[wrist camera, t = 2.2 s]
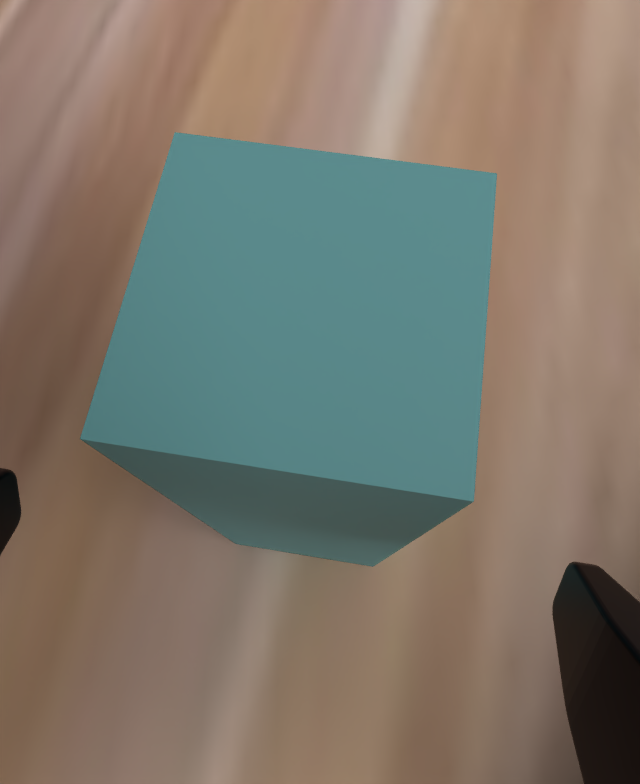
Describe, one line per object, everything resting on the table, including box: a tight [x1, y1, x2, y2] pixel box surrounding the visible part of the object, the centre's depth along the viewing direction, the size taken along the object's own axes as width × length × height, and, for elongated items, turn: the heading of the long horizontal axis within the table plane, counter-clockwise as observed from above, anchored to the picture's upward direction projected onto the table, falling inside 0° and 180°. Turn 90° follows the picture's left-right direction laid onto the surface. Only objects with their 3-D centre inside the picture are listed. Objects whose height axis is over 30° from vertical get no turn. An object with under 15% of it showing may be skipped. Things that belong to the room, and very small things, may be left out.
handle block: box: [80, 132, 497, 566], centre depth 13 cm, size 4×4×13 cm
